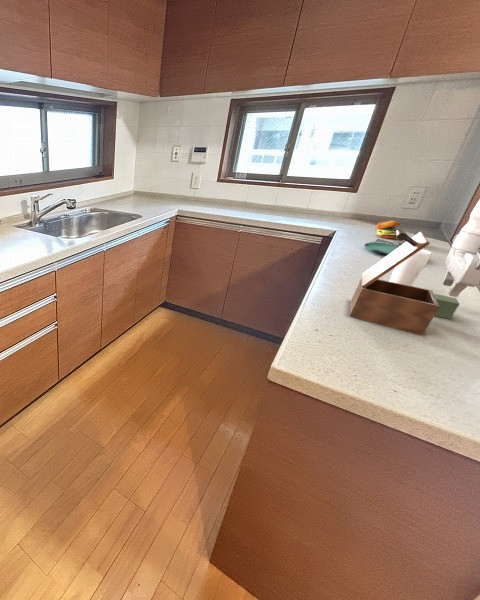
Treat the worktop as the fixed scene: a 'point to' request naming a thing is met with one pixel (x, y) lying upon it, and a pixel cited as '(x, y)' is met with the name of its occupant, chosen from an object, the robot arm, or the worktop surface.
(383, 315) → the chest
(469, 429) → the worktop surface
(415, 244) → the lid
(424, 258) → the white tapered cylinder
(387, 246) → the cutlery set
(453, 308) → the block
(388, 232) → the cheeseburger
